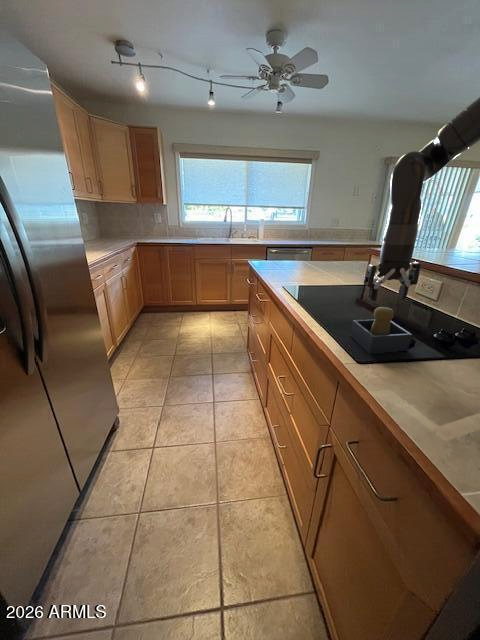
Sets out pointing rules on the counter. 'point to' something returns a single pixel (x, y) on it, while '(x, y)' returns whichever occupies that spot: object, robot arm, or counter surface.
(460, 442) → the counter surface
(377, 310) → the cork
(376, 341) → the bin
